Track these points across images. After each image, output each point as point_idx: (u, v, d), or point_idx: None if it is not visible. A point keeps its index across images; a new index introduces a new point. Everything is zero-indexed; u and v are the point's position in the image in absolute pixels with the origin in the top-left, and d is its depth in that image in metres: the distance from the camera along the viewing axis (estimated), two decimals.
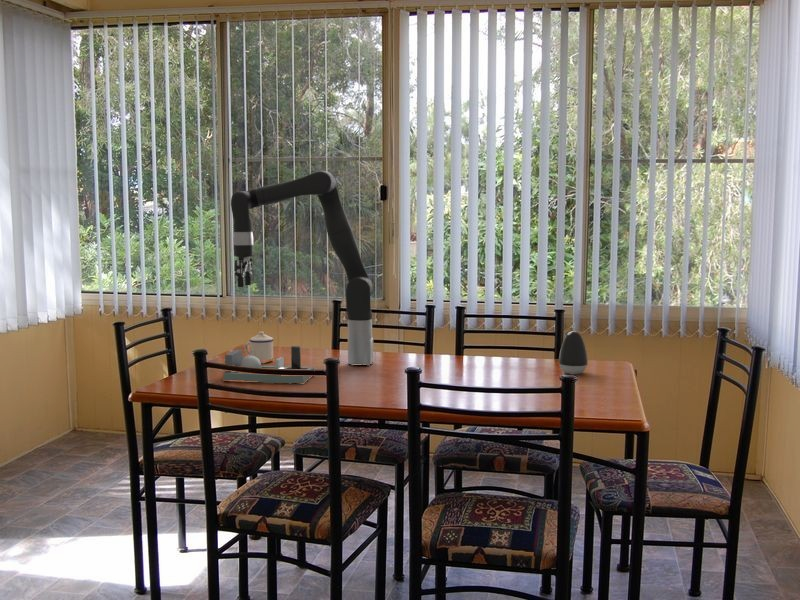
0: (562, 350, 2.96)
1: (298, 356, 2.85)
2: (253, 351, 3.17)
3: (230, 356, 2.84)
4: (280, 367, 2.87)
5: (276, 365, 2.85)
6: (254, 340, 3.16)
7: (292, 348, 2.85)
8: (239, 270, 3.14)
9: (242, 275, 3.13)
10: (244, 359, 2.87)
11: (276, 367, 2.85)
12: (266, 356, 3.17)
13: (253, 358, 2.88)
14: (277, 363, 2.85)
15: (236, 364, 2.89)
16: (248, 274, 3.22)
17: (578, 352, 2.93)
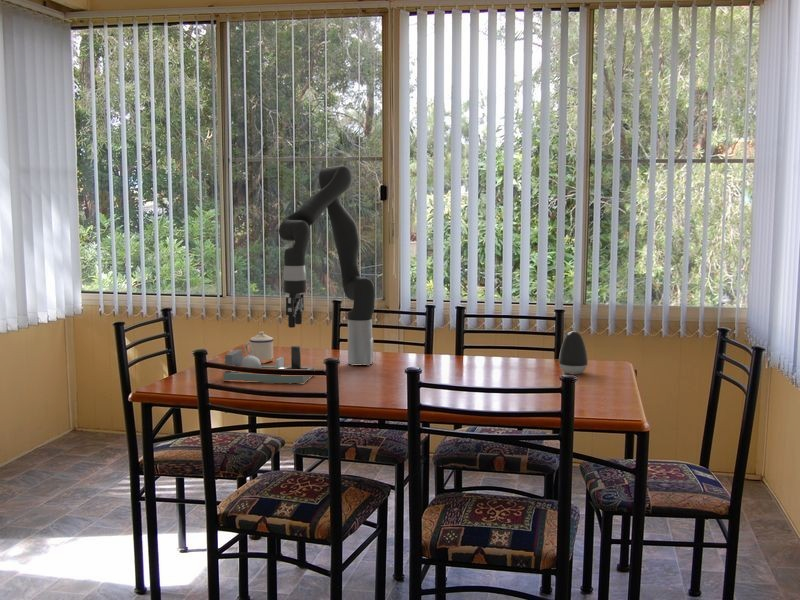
0: (562, 350, 2.96)
1: (298, 356, 2.85)
2: (253, 351, 3.17)
3: (230, 356, 2.84)
4: (280, 367, 2.87)
5: (276, 365, 2.85)
6: (254, 340, 3.16)
7: (292, 348, 2.85)
8: (290, 308, 2.81)
9: (294, 314, 2.80)
10: (244, 359, 2.87)
11: (276, 367, 2.85)
12: (266, 356, 3.17)
13: (253, 358, 2.88)
14: (277, 363, 2.85)
15: (236, 364, 2.89)
16: (299, 312, 2.89)
17: (578, 352, 2.93)
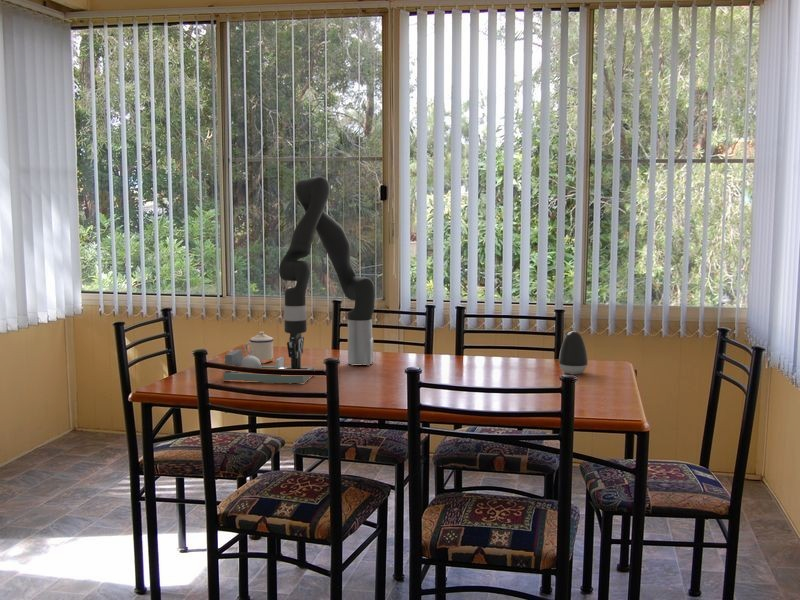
0: (562, 350, 2.96)
1: (298, 356, 2.85)
2: (253, 351, 3.17)
3: (230, 356, 2.84)
4: (280, 367, 2.87)
5: (276, 365, 2.85)
6: (254, 340, 3.16)
7: None
8: None
9: (296, 357, 2.84)
10: (244, 359, 2.87)
11: (276, 367, 2.85)
12: (266, 356, 3.17)
13: (253, 358, 2.88)
14: (277, 363, 2.85)
15: (236, 364, 2.89)
16: None
17: (578, 352, 2.93)
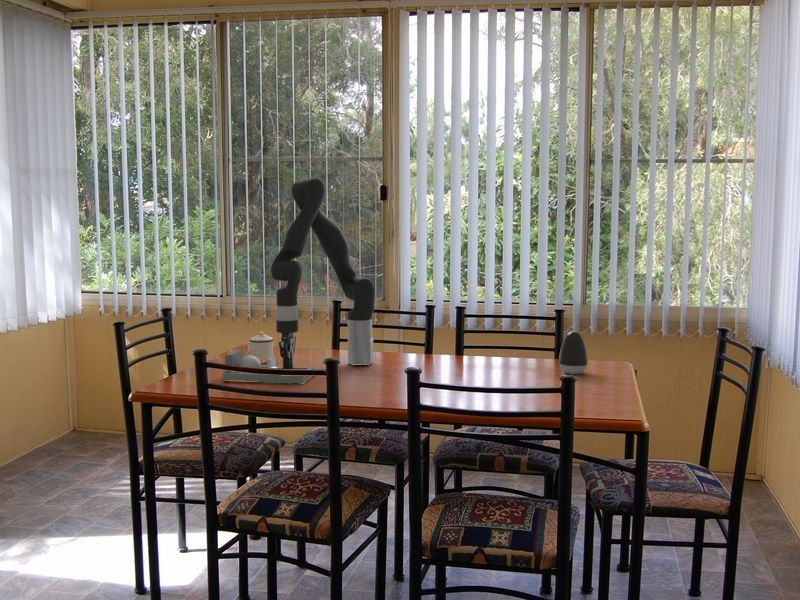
0: (562, 350, 2.96)
1: (290, 355, 2.86)
2: (253, 351, 3.17)
3: (230, 356, 2.84)
4: (272, 367, 2.87)
5: (268, 365, 2.85)
6: (254, 340, 3.16)
7: None
8: None
9: (288, 357, 2.84)
10: (244, 359, 2.87)
11: (268, 367, 2.85)
12: (266, 356, 3.17)
13: (253, 358, 2.88)
14: (269, 363, 2.85)
15: (236, 364, 2.89)
16: None
17: (578, 352, 2.93)
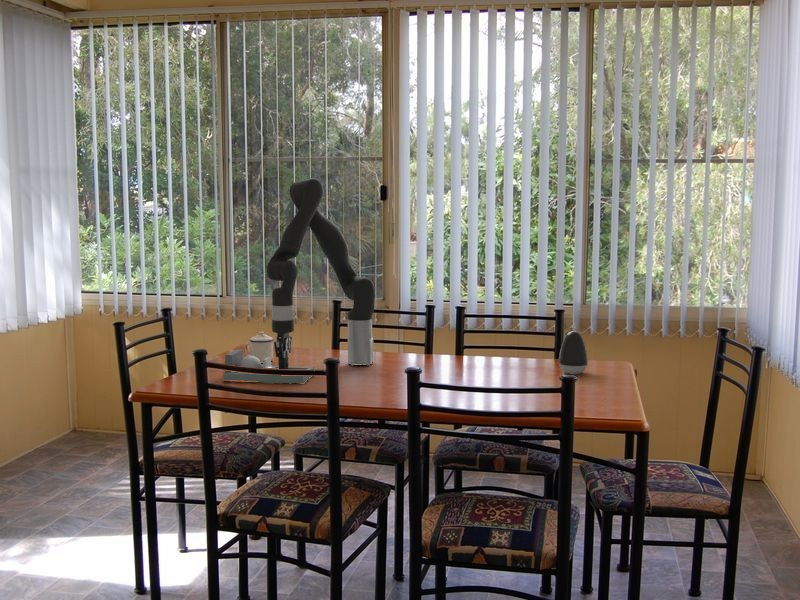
0: (562, 350, 2.96)
1: (285, 355, 2.86)
2: (253, 351, 3.17)
3: (230, 356, 2.84)
4: (267, 367, 2.88)
5: (263, 365, 2.85)
6: (254, 340, 3.16)
7: None
8: None
9: (283, 357, 2.84)
10: (244, 359, 2.87)
11: (263, 367, 2.85)
12: (266, 356, 3.17)
13: (253, 358, 2.88)
14: (264, 363, 2.85)
15: (236, 364, 2.89)
16: None
17: (578, 352, 2.93)
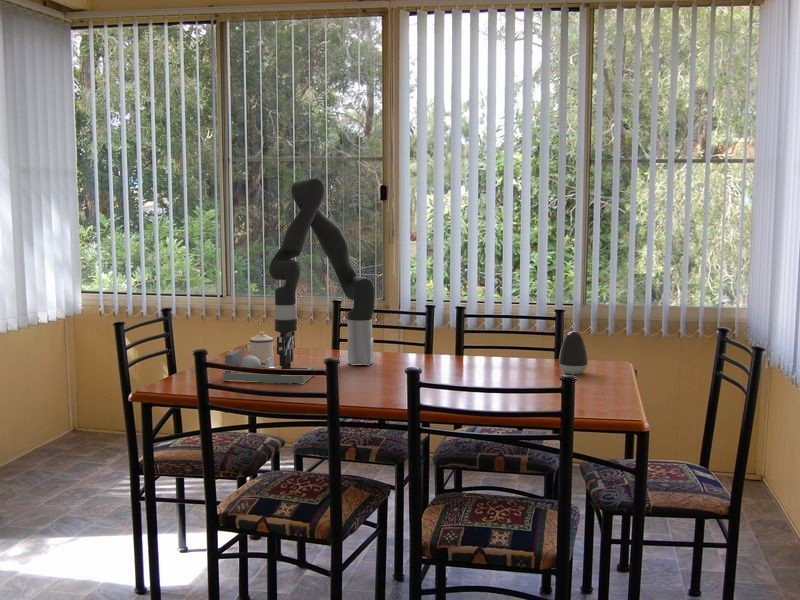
0: (562, 350, 2.96)
1: (288, 355, 2.86)
2: (253, 351, 3.17)
3: (230, 356, 2.84)
4: (270, 367, 2.87)
5: (266, 365, 2.85)
6: (254, 340, 3.16)
7: None
8: (281, 347, 2.83)
9: (285, 353, 2.82)
10: (244, 359, 2.87)
11: (266, 367, 2.85)
12: (266, 356, 3.17)
13: (253, 358, 2.88)
14: (267, 363, 2.85)
15: (236, 364, 2.89)
16: None
17: (578, 352, 2.93)
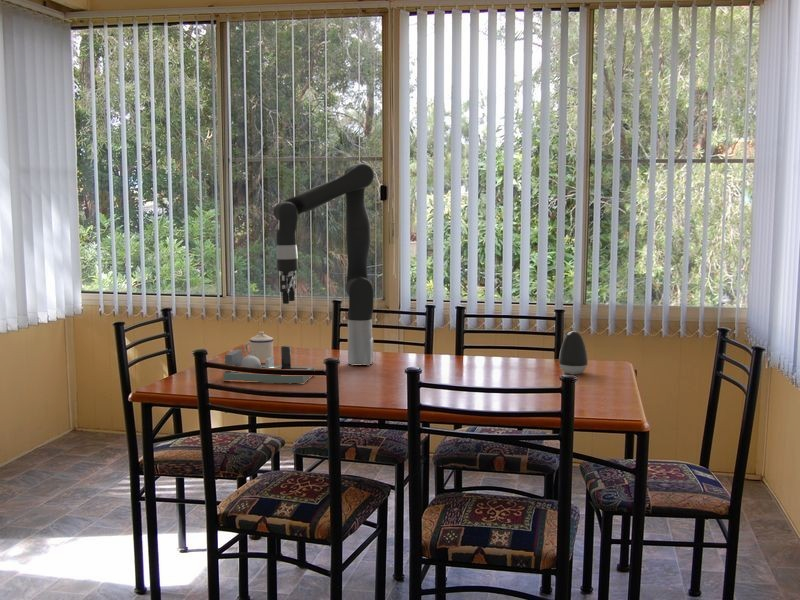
0: (562, 350, 2.96)
1: (288, 355, 2.86)
2: (253, 351, 3.17)
3: (230, 356, 2.84)
4: (270, 367, 2.87)
5: (266, 365, 2.85)
6: (254, 340, 3.16)
7: (282, 348, 2.86)
8: (284, 286, 2.96)
9: (287, 291, 2.95)
10: (244, 359, 2.87)
11: (266, 367, 2.85)
12: (266, 356, 3.17)
13: (253, 358, 2.88)
14: (267, 363, 2.85)
15: (236, 364, 2.89)
16: (291, 289, 3.04)
17: (578, 352, 2.93)
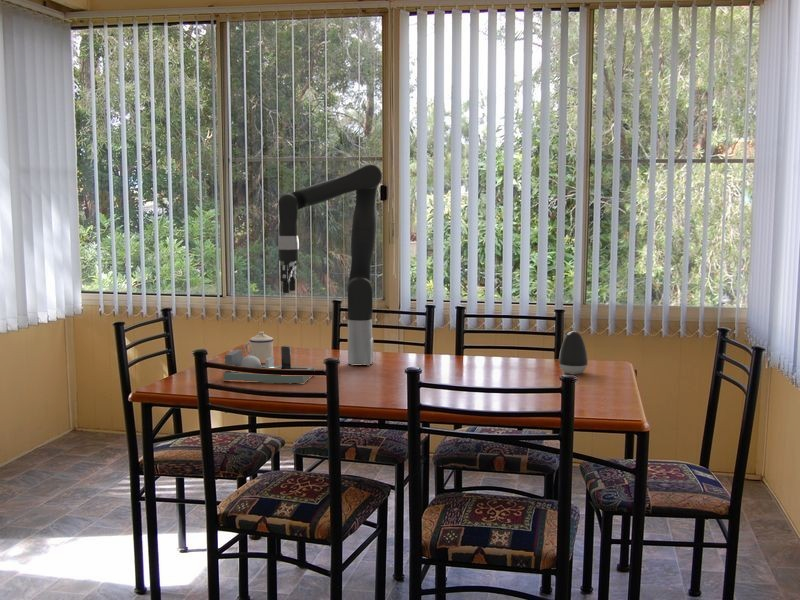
0: (562, 350, 2.96)
1: (288, 355, 2.86)
2: (253, 351, 3.17)
3: (230, 356, 2.84)
4: (270, 367, 2.87)
5: (266, 365, 2.85)
6: (254, 340, 3.16)
7: (282, 348, 2.86)
8: (284, 275, 3.04)
9: (288, 280, 3.02)
10: (244, 359, 2.87)
11: (266, 367, 2.85)
12: (266, 356, 3.17)
13: (253, 358, 2.88)
14: (267, 363, 2.85)
15: (236, 364, 2.89)
16: (292, 279, 3.12)
17: (578, 352, 2.93)
